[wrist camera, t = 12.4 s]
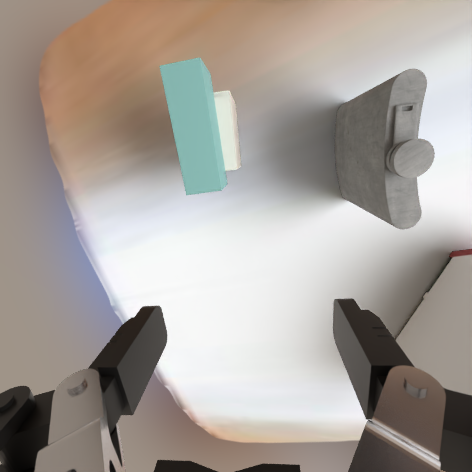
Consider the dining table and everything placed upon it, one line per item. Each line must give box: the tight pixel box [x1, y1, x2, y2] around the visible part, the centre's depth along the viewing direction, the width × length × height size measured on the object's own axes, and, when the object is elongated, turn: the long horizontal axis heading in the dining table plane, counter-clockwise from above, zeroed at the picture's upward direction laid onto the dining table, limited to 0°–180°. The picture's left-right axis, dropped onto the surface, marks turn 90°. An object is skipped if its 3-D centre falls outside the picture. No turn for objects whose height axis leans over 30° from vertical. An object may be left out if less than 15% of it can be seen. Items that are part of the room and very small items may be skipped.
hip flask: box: [335, 69, 435, 229], centre depth 33 cm, size 16×4×20 cm, turn 11°
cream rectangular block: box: [213, 90, 241, 171], centre depth 38 cm, size 10×8×10 cm
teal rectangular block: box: [160, 58, 227, 195], centre depth 31 cm, size 14×4×6 cm, turn 8°
